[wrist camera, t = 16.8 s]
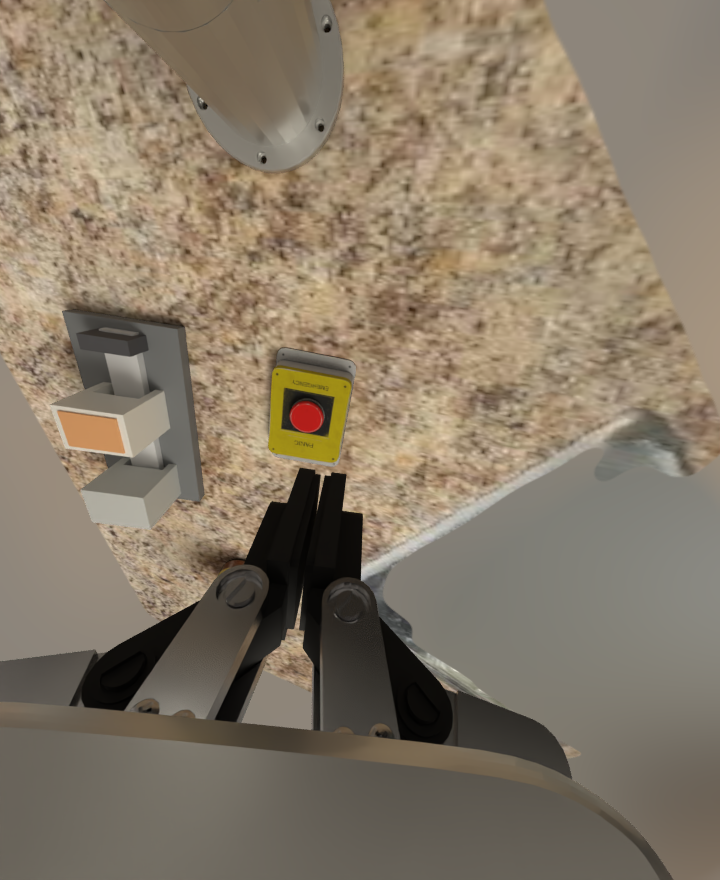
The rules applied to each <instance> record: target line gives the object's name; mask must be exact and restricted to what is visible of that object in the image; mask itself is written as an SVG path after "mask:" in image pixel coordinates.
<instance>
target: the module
mask: <svg viewBox="0 0 720 880" xmlns="http://www.w3.org/2000/svg"><path fill="white" fill-rule="evenodd" d="M50 407H51V410H52V413H53V416H54V418H55V421H56V424H57V427H58V429H59V432H60V435H61V438H62V441H63V443H64V446H65V448H67V449H74V450H81V451H89V452H96V453H103V454H110V455H118V456H125V457H132V458H133V457H135V456H136V455H137V454H138V453H140V452H141V451H142V450H143V449H145V448H146V447H147V446H148V445H150V444H151V443H152V442H153V441H155V440H156V439H157V438H158V437H160V436H161V435H162V434H164V433H165V432H166V431H167V430H169V429H170V424H169V418H168V412H167V406H166V399H165V393H164V391H161V390H154V391H152V392H150V393H149V394H147V395H145V396H143V397H141V398H140V399H136V398H130V397H123V396H116V395H115V394H114V390H113V386H112V383H108V382H102V383H100V384H97V385H95V386H93V387H90V388H88V389H85V390H83V391H81V392H78V393H76V394H74V395H71V396H69V397H67V398H64V399H62V400H59V401H57V402H55V403H52V404H50Z"/></svg>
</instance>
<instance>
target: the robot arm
mask: <svg viewBox="0 0 720 880" xmlns="http://www.w3.org/2000/svg"><path fill="white" fill-rule="evenodd" d="M104 1H105V2H106V3H107V4H108V5H109V6H110V7H111V8H112V9H113V10H114V11H115V12H116V13H117V14H118V15H119V16H120V17H121V18H122V19H123V20H124V21H125V22H126V23H127V24H128V25H129V26H130V27H131V28H132V29H133V30H134V31H135V32H136V33H137V34H138V35H139V36H140V37H141V38H142V39H143V40H144V41H145V42H146V43H147V44H148V45H149V46H150V47H151V48H152V49H153V50H154V51H155V52H156V53H157V54H158V55H159V56H160V57H161V58H162V59H163V60H164V61H165V62H166V64H167V65H168V66H169V67H170V68H171V69H172V70H173V71H174V72H175V73H176V74H177V75H178V76H179V77H180V78H181V79H182V80H183V81H184V82H185V83H186V85H187V89H188V92H189V95H190V97H191V100H192V102H193V104H194V107H195V109H196V111H197V114H198V115H199V117H200V119H201V120H202V122H203V124H204V125H205V127H206V129H207V130H208V132H209V133H210V134H211V135H212V137H213V138H214V139H215V140H216V142H217V143H218V144H219V145H220V146H221V147H222V148H223V149H224V150H225V151H226V152H228V153H229V154H230V155H231V156H232V157H234V158H235V159H236V160H238V161H239V162H240V163H242V164H244V165H246V166H248V167H250V168H252V169H254V170H258V171H262V172H266V173H284V172H288V171H292V170H295V169H297V168H299V167H301V166H302V165H304V164H306V163H307V162H309V161H310V160H311V159H312V158H313V157H314V156H315V155H316V154H318V152H319V151H320V150H321V148H322V147H323V146H324V144H325V143H326V141H327V140H328V138H329V136H330V134H331V132H332V130H333V128H334V126H335V123H336V120H337V116H338V113H339V110H340V106H341V100H342V93H343V87H344V61H343V51H342V43H341V38H340V32H339V27H338V23H337V19H336V16H335V13H334V10H333V7H332V4H331V1H330V0H104ZM326 28H330V29H331V31H330V32H328V33H325V29H326ZM206 104H207V105H208V107H207V109H206V110H205V105H206ZM321 125H322V126H324V130H323V132H320V131H319V130H318V129H319V126H321ZM264 157H266V158H267V161H266V163H265V164H263V162H262V159H263V158H264ZM320 476H321V475H318V474H315V470H312V469H305V468H300V469H299V472H298V474H297V477H296V480H295V483H294V486H293V488H292V491H291V494H290V497H289V499H288V502H287V503H280V502H273V501H272V502H271V503H270V505H269V507H268V509H267V511H266V514H265V516H264V518H263V521H262V523H261V525H260V528H259V530H258V532H257V534H256V537H255V539H254V541H253V544H252V546H251V548H250V551H249V553H248V555H247V558H246V560H245V562H244V565H237V566H234V567H231V568H229V569H227V570H225V571H224V572H222V573H221V574H220V575H219V576H218V577H217V578H216V579H215V580H214V581H213V583H212V584H211V586H210V587H209V589H208V590H207V591H206V593H205V594H204V596H203V597H202V599H201V600H200V601H198V602H196V603H194V604H192V605H191V606H189V607H187V608H185V609H183V610H181V611H180V612H178V613H176V614H174V615H172V616H170V617H169V618H167V619H165V620H163V621H161V622H159V623H158V624H156V625H154V626H152V627H151V628H148V629H147V630H145V631H143V632H141V633H139V634H137V635H135V636H134V637H132V638H130V639H128V640H126V641H124V642H123V643H121V644H119V645H117V646H116V647H114V648H113V649H111V650H110V651H108V652H106V653H98V654H97V652H96V650H89V651H81V652H73V653H65V654H57V655H49V656H41V657H32V658H25V659H17V660H9V661H0V880H674V879H673V878H672V876H671V875H670V873H669V872H668V870H667V869H666V867H665V866H664V864H663V862H662V861H661V859H660V858H659V857H658V855H657V854H656V852H655V851H654V850H653V849H652V848H651V846H650V845H649V843H648V842H647V841H646V839H645V838H644V837H643V836H642V835H641V833H640V832H639V831H638V830H637V829H636V828H635V827H634V826H633V825H632V824H631V823H630V822H629V821H628V820H627V819H626V818H625V817H624V816H622V815H621V814H620V813H619V812H618V811H617V810H616V809H614V808H613V807H612V806H610V805H609V804H608V803H606V802H605V801H604V800H603V799H602V798H600V797H599V796H597V795H596V794H594V793H593V792H591V791H590V790H588V789H587V788H585V787H583V786H582V785H581V784H579V783H578V782H575V781H574V780H572V776H571V771H570V767H569V764H568V761H567V758H566V755H565V753H564V750H563V749H562V747H561V745H560V744H559V742H558V741H557V739H556V738H555V736H554V735H553V734H552V733H551V732H550V731H549V730H548V729H547V728H546V727H545V726H544V725H542V724H540V723H539V722H537V721H535V720H533V719H531V718H528V717H526V716H523V715H521V714H518V713H515V712H513V711H510V710H508V709H505V708H503V707H500V706H497V705H495V704H492V703H490V702H487V701H485V700H482V699H480V698H477V697H474V696H472V695H469V694H467V693H464V692H462V691H459V690H458V691H457V692H456V693H454V692H451V691H448V690H446V689H444V688H443V686H442V685H441V684H440V682H439V681H438V680H437V679H436V678H435V677H434V675H433V674H432V673H431V672H430V671H429V670H428V669H427V668H426V667H425V666H424V665H423V664H422V662H421V661H420V660H419V659H418V658H417V657H416V656H415V655H414V654H413V653H412V652H411V650H410V649H409V648H408V647H407V646H406V645H405V644H404V643H403V642H402V641H401V640H400V639H399V637H398V636H397V635H396V634H395V633H394V632H393V631H392V630H391V629H390V628H389V627H388V625H387V624H386V623H385V622H384V621H383V620H382V619H381V618H380V617H379V613H378V607H377V601H376V598H375V595H374V593H373V591H372V590H371V589H370V587H369V586H368V585H366V584H365V583H364V582H363V581H361V556H362V525H363V514H361V513H354V512H346V511H342V508H343V499H344V491H345V482H346V474H340V473H333V472H332V473H331V476H326V475H325V478H324V483H323V487H322V492H321V496H320V501H319V505H318V510H317V504H318V495H319V486H320ZM302 589H303V596H302V606H301V617H300V627H299V630H303V631H305V632H304V641H303V649H304V651H305V652H306V654H307V655H308V657H309V658H310V659H311V661H312V662H313V666H312V730H304V729H294V728H285V727H275V726H266V725H256V724H247V723H241V722H242V720H243V717H244V715H245V712H246V710H247V707H248V705H249V703H250V700H251V698H252V695H253V693H254V690H255V688H256V685H257V683H258V680H259V678H260V676H261V673H262V671H263V668H264V666H265V663H266V660H267V657H268V654H270V653H271V652H272V651H274V650H275V649H276V648H278V647H279V646H280V644H281V640H285V636H286V632H287V629H294V626H295V622H296V617H297V613H298V608H299V603H300V599H301V594H302Z"/></svg>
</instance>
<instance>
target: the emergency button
mask: <svg viewBox="0 0 720 880" xmlns="http://www.w3.org/2000/svg"><path fill="white" fill-rule="evenodd" d="M355 373H356V366H355V364H354V362H352V361H350V360H347V359H341V358H336V357H331V356H326V355H321V354H316V353H311V352H306V351H301V350H295V349H290V348H281V349H280V350H279V351H278V353H277V360H276V366H275V367H274V370H273V372H272V384H271V403H270V422H269V442H268V448H269V450H270V451H271V452H272V454H273V455H274V456H276V457H278V458H284V459H290V460H295V461H301V462H307V463H313V464H319V465H324V466H330V467H333V466H336V465H337V464H338V463H339V460H340V454H341V449H342V443H343V438H344V433H345V427H346V422H347V416H348V411H349V406H350V400H351V395H352V389H353V384H354V378H355Z"/></svg>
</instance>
